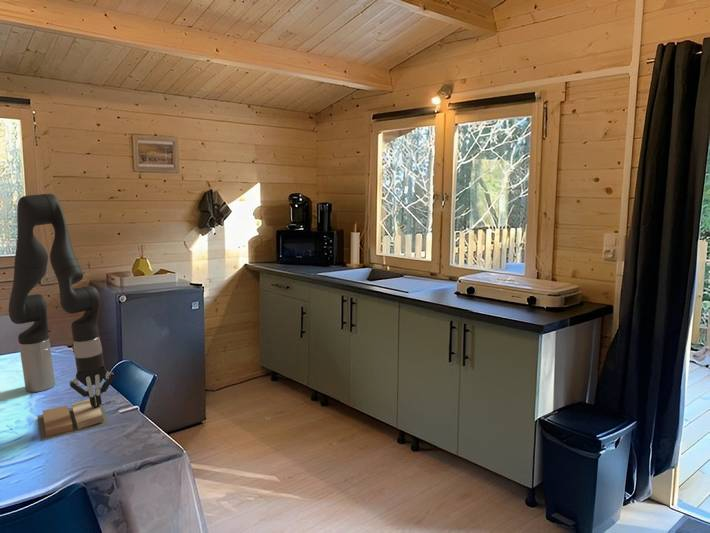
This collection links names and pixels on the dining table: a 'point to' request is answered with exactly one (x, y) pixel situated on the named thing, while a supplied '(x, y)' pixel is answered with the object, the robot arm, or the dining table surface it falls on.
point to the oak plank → (86, 414)
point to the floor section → (63, 422)
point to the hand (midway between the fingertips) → (96, 406)
